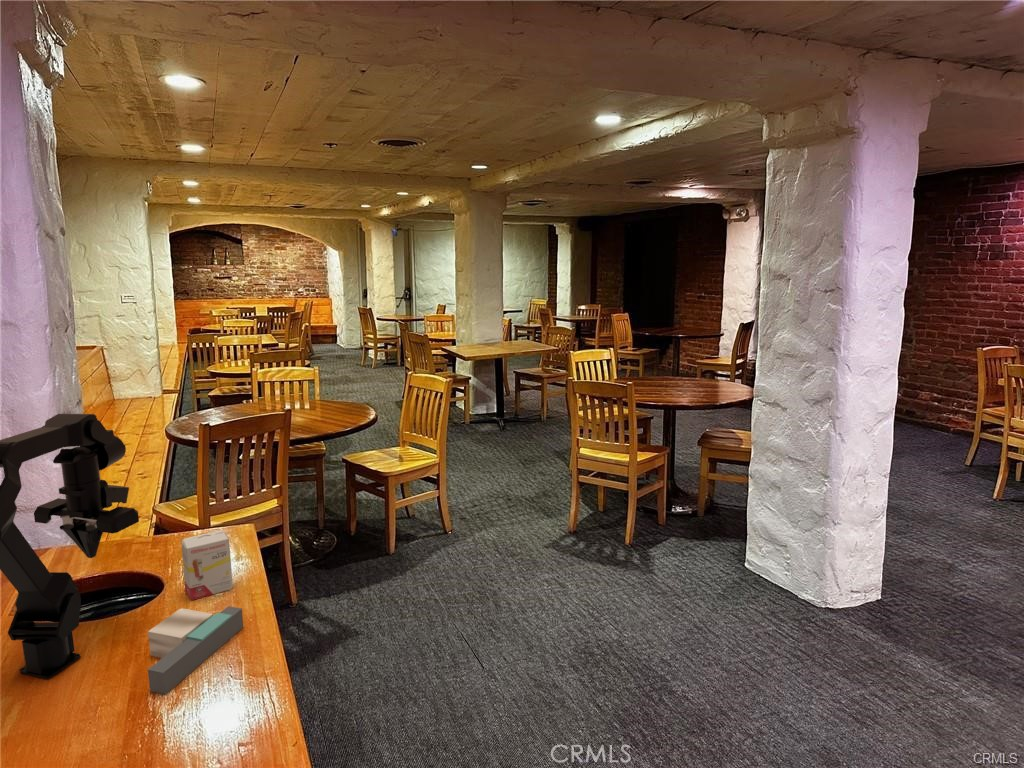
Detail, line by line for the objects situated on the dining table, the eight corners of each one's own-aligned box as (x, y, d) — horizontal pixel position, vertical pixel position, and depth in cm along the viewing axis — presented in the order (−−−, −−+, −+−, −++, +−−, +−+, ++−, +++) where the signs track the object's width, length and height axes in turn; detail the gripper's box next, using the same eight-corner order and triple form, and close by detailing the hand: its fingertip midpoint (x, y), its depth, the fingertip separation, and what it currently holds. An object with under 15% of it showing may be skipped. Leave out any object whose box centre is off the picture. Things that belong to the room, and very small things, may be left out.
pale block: (183, 663, 116) (181, 637, 115) (150, 656, 118) (148, 631, 117) (214, 638, 124) (212, 613, 123) (183, 632, 126) (181, 608, 125)
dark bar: (165, 694, 108) (163, 670, 107) (149, 691, 109) (147, 667, 108) (243, 627, 127) (242, 606, 126) (229, 625, 128) (227, 604, 127)
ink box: (190, 601, 136) (184, 548, 133) (184, 591, 140) (179, 539, 137) (233, 589, 141) (229, 537, 138) (227, 579, 145) (223, 529, 142)
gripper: (157, 470, 129) (164, 545, 132) (78, 461, 133) (88, 533, 136) (109, 490, 118) (119, 571, 121) (26, 479, 123) (37, 558, 126)
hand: (91, 557), depth 127 cm, fingers closed
